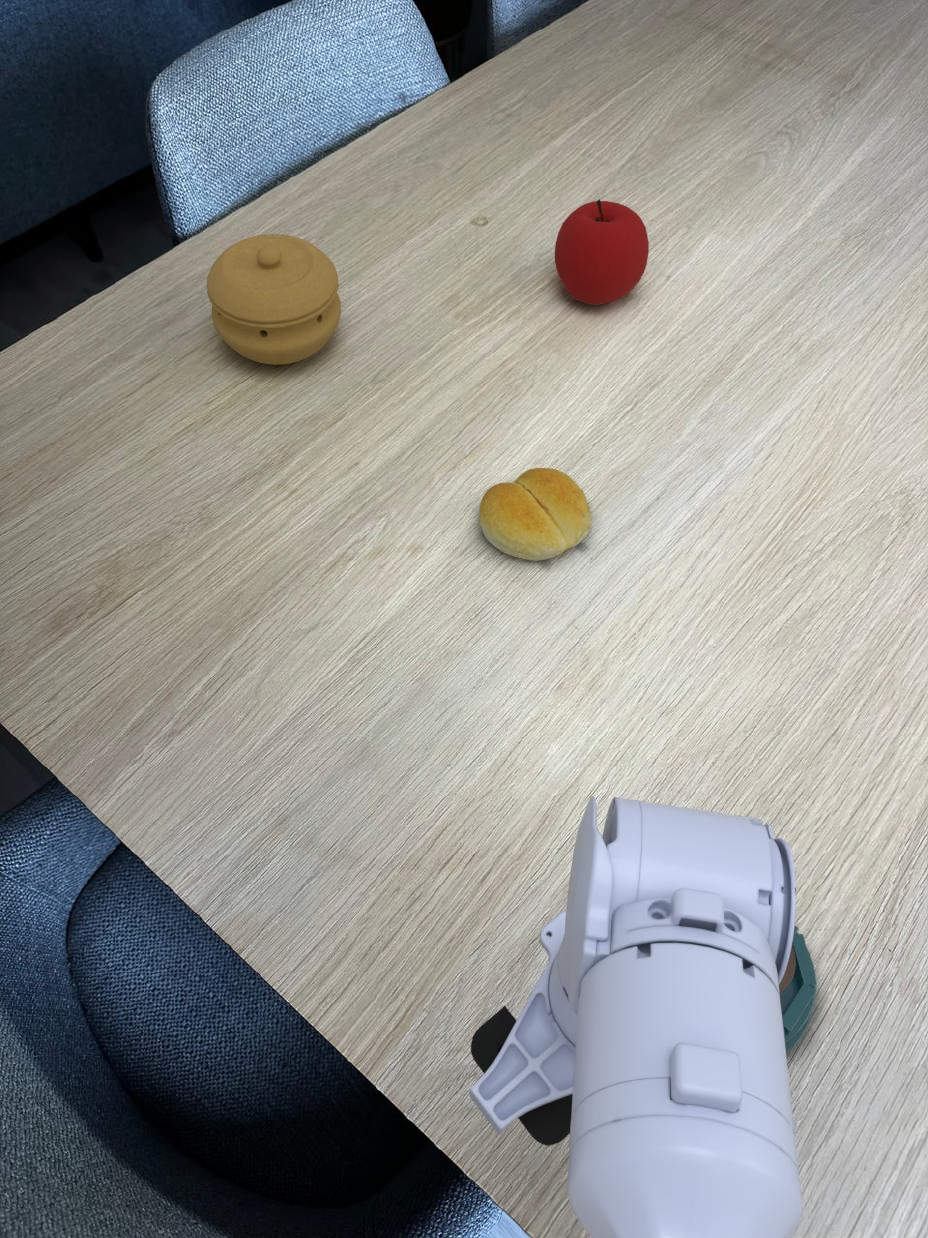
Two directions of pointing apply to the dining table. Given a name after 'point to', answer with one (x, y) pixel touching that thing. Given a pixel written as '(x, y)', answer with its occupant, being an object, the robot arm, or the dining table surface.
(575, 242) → the apple
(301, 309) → the pot
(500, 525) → the bread roll
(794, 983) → the stand
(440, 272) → the dining table surface
